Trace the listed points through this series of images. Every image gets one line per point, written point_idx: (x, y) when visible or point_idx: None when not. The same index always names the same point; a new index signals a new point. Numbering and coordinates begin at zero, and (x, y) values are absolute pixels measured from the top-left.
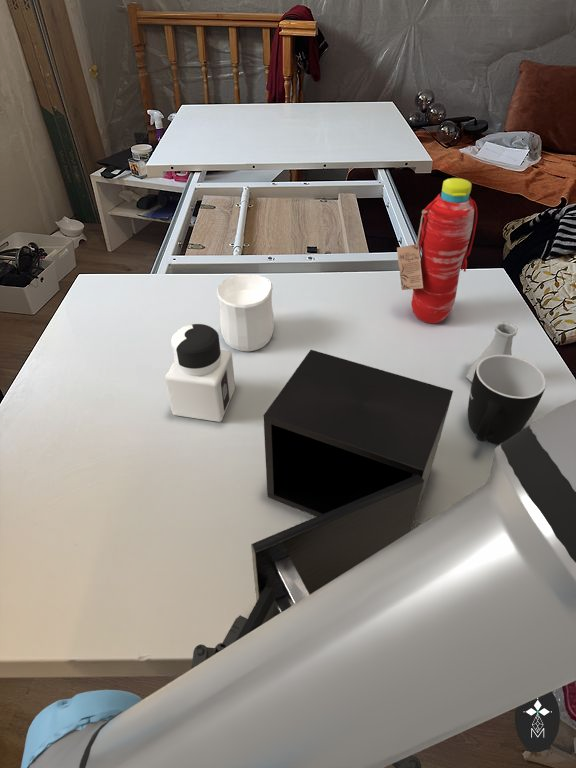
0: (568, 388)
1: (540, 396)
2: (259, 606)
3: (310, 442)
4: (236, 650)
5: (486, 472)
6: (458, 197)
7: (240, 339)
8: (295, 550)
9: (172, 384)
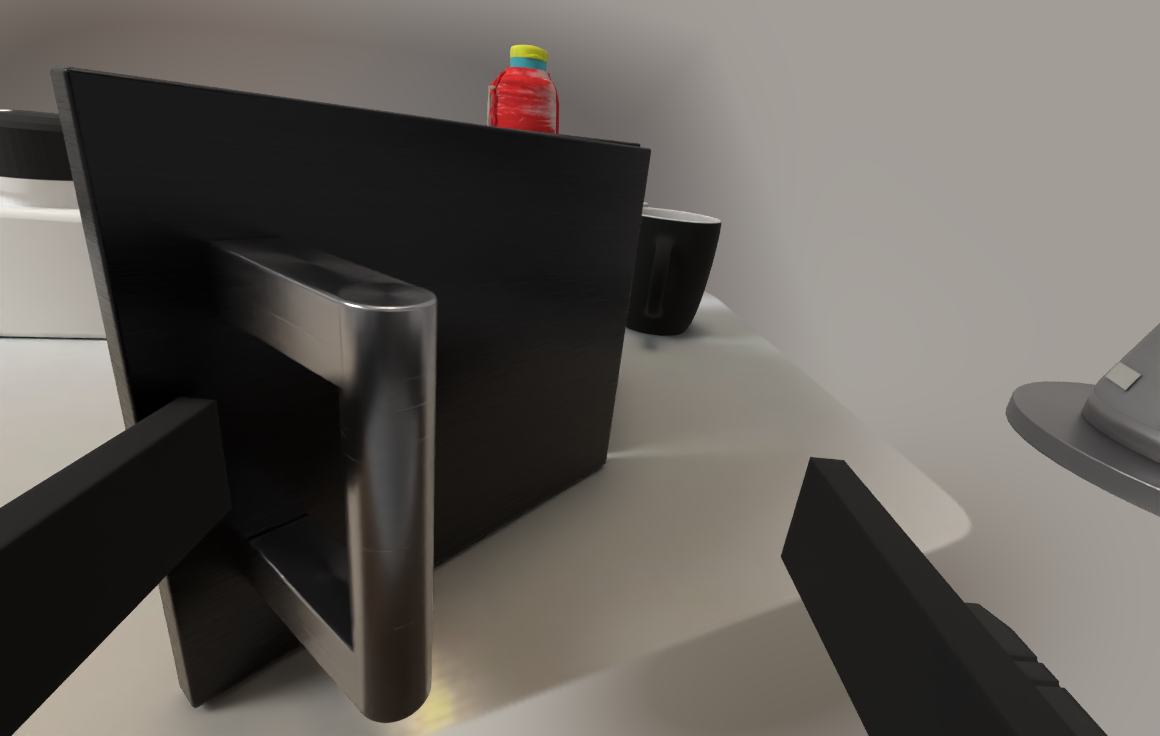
0: (716, 298)
1: (719, 231)
2: (121, 449)
3: None
4: None
5: (675, 358)
6: (534, 61)
7: None
8: (313, 217)
9: None
